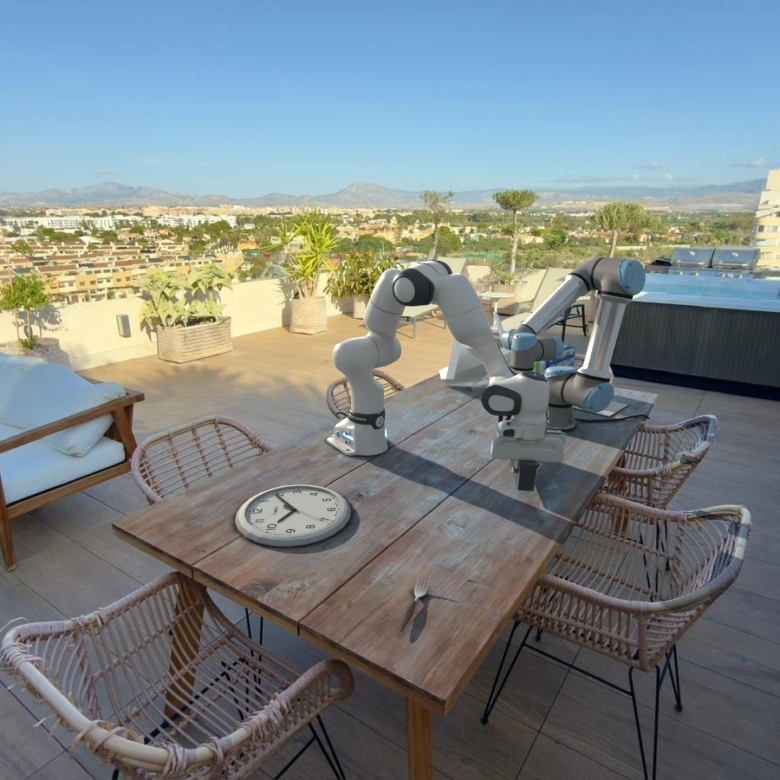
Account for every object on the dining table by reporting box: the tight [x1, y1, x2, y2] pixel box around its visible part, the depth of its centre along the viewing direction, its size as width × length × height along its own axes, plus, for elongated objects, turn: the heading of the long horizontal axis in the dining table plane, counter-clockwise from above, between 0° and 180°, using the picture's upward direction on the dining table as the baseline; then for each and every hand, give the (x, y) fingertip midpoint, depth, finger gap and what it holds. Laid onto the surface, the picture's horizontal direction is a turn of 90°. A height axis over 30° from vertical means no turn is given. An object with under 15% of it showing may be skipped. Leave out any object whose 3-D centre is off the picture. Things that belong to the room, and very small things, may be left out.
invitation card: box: [573, 400, 629, 418], centre depth 226 cm, size 21×1×15 cm
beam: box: [513, 460, 537, 492], centre depth 164 cm, size 36×4×8 cm, turn 173°
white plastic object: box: [438, 310, 511, 386], centre depth 245 cm, size 37×45×31 cm
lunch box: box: [533, 344, 576, 376], centre depth 248 cm, size 26×11×21 cm, turn 134°
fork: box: [400, 573, 431, 633], centre depth 105 cm, size 3×16×2 cm, turn 160°
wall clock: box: [234, 484, 352, 548], centre depth 138 cm, size 30×2×30 cm
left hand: (524, 473), depth 151 cm, fingers closed on beam, 4 cm apart
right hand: (514, 446), depth 177 cm, fingers closed on beam, 4 cm apart
